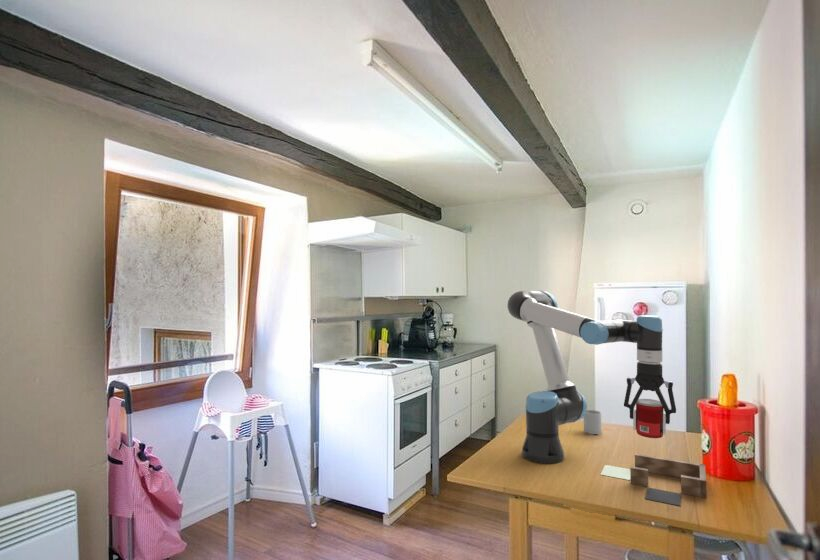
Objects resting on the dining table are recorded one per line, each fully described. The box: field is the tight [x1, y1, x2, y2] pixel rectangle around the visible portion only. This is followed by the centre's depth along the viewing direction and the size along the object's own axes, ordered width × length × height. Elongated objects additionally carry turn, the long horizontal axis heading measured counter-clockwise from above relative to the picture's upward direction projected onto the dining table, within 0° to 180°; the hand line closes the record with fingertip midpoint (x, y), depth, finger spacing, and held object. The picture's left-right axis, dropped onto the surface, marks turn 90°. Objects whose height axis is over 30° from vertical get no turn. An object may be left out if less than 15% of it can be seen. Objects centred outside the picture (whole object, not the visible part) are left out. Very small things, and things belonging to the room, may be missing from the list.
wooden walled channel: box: [629, 453, 707, 499], centre depth 147 cm, size 20×15×5 cm
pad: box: [600, 464, 631, 481], centre depth 155 cm, size 9×10×1 cm
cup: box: [583, 409, 602, 435], centre depth 201 cm, size 7×10×9 cm
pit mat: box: [644, 486, 682, 507], centre depth 137 cm, size 9×9×1 cm
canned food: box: [635, 398, 664, 439], centre depth 151 cm, size 8×8×11 cm
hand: (649, 430), depth 151 cm, fingers closed on canned food, 8 cm apart
